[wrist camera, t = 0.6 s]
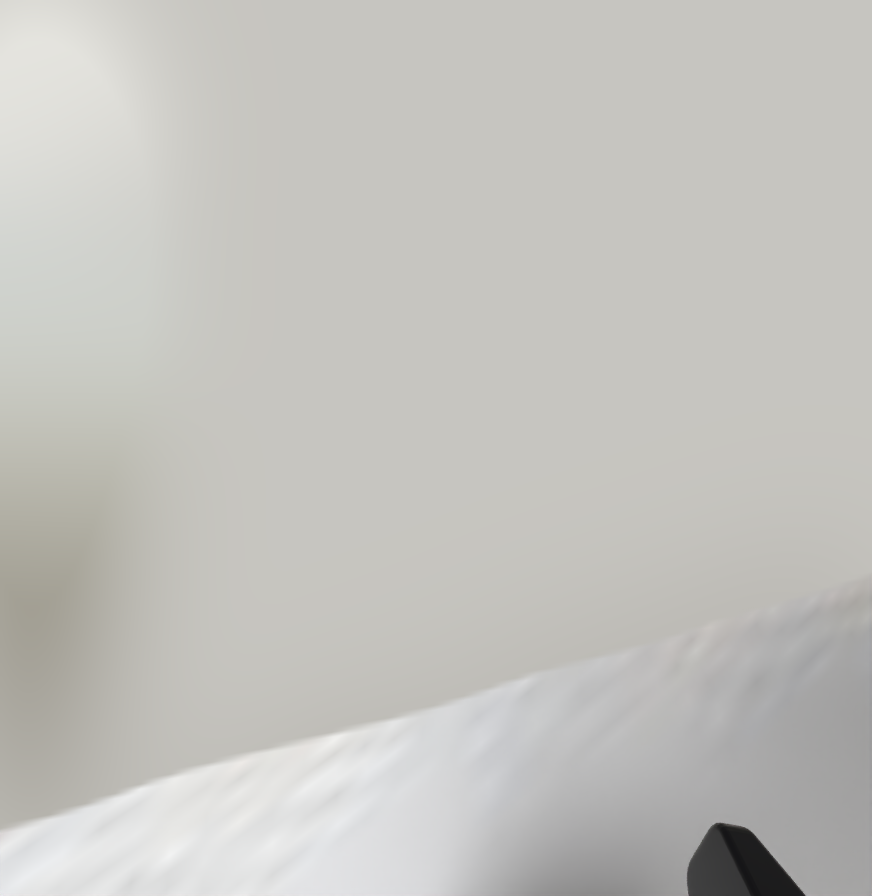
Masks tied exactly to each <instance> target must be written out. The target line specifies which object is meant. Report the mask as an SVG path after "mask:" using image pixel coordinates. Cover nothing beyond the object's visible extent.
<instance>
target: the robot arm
mask: <svg viewBox="0 0 872 896" xmlns="http://www.w3.org/2000/svg"><path fill="white" fill-rule="evenodd" d="M687 886H688V895H689V896H806V895H805V894H804V893H803V892H802V891H801V889H800V888H799V887H798V886H797V885H796V883H795V882H794V881H793V880H792V879H791V877H790V876H789V875H788V874H787V873H786V872H785V870H784V869H783V868H782V867H781V866H780V864H779V863H778V862H777V861H776V860H775V858H774V857H773V856H772V855H771V854H770V852H769V851H768V850H767V849H766V848H765V847H764V845H763V844H762V843H761V842H760V841H759V839H758V838H757V837H756V836H755V835H754V834H753V833H752V832H751V831H750V830H749V829H747V828H745V827H742V826H737V825H731V824H725V823H716V824H714V825H712V826H711V827H710V829H709V830H708V832H707V834H706V835H705V837H704V839H703V840H702V842H701V843H700V845H699V847H698V848H697V850H696V852H695V853H694V855H693V857H692V858H691V860H690V863H689V866H688V871H687Z"/></svg>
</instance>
